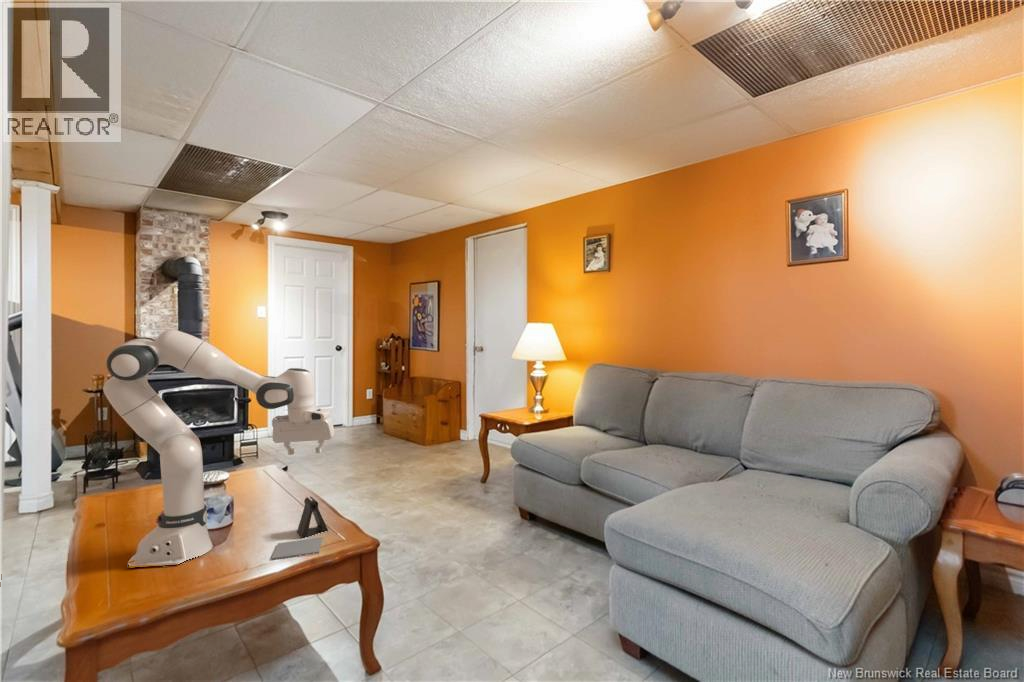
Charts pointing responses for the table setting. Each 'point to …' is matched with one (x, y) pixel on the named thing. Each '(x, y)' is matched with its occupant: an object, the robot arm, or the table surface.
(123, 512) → the table surface
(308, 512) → the black triangular stand
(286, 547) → the mat
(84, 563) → the table surface
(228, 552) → the table surface
